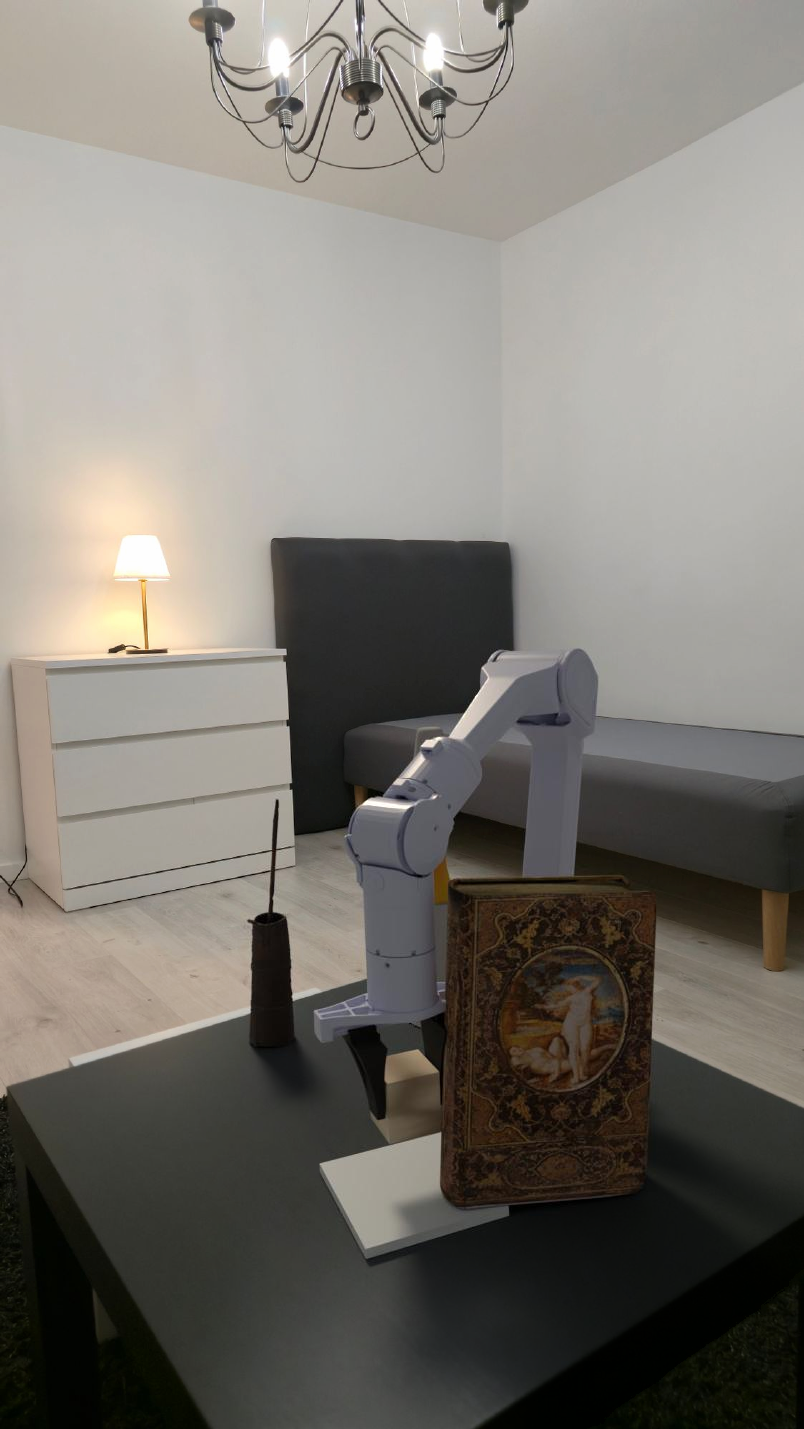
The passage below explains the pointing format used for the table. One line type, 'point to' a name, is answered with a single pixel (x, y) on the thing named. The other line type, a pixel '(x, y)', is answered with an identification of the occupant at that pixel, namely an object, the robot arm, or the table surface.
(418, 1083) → the birch block
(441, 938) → the lava lamp
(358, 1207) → the pad
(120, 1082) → the table surface
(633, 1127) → the book
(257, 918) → the butter churn
